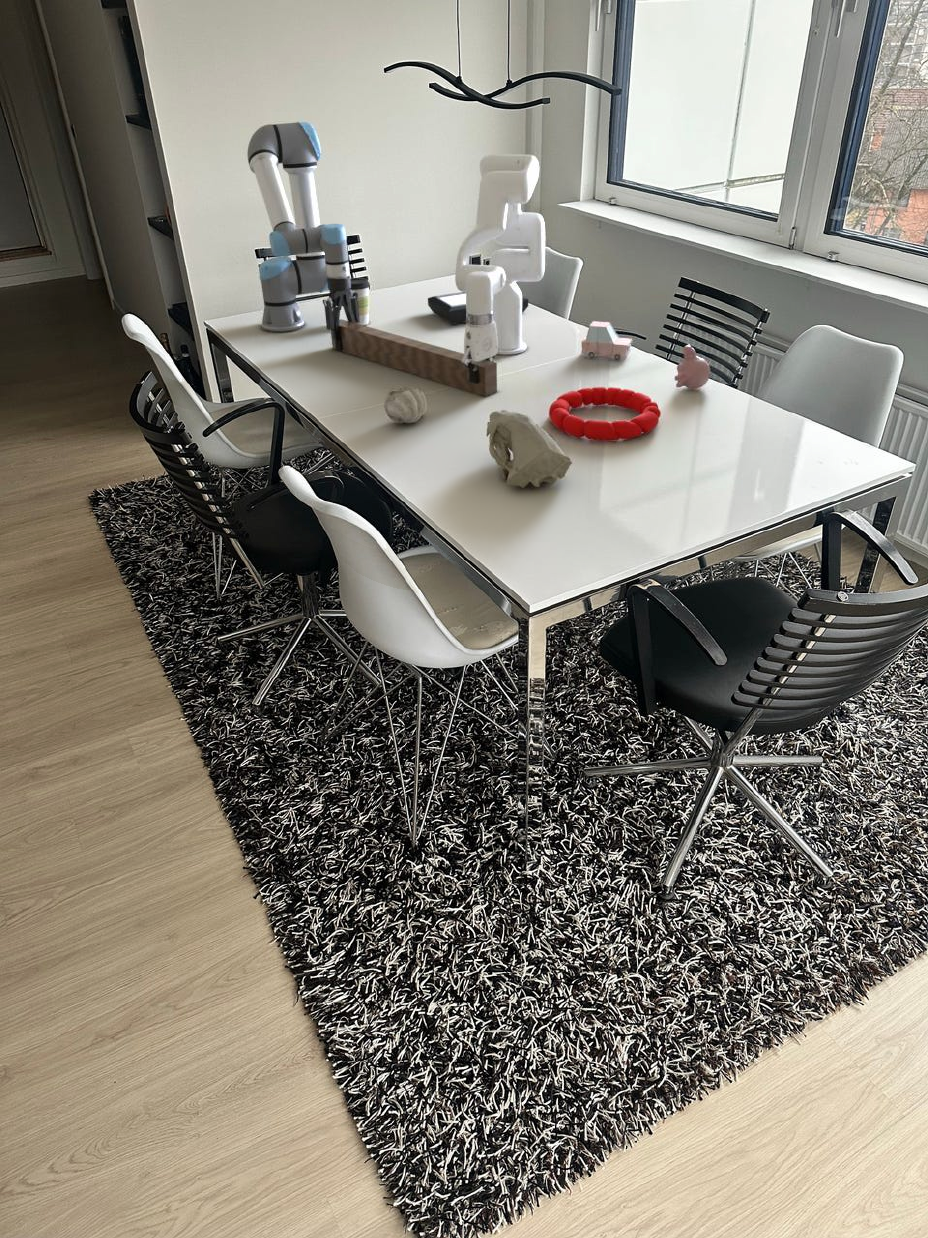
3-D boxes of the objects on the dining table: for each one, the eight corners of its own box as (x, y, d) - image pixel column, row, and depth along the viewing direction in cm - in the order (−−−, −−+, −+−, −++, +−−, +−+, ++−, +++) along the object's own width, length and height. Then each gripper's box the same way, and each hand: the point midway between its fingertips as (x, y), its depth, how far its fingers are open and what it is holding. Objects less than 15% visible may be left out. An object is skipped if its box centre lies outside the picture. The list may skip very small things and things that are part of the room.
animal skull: (496, 517, 219) (521, 479, 201) (463, 429, 225) (484, 384, 207) (557, 503, 225) (586, 465, 206) (523, 417, 231) (549, 373, 212)
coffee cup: (372, 326, 323) (368, 283, 314) (345, 327, 323) (340, 284, 315) (374, 318, 331) (371, 276, 322) (348, 319, 331) (344, 277, 323)
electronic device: (448, 308, 317) (427, 295, 332) (449, 326, 320) (428, 312, 335) (528, 296, 327) (504, 284, 342) (528, 313, 330) (504, 301, 346)
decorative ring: (589, 435, 224) (684, 402, 234) (527, 398, 247) (617, 369, 256) (589, 461, 229) (683, 427, 238) (529, 422, 251) (617, 393, 260)
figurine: (665, 387, 264) (669, 347, 257) (693, 380, 268) (698, 340, 261) (686, 396, 257) (690, 355, 250) (714, 388, 262) (720, 348, 255)
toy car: (626, 362, 283) (628, 330, 277) (579, 358, 288) (580, 327, 282) (632, 353, 290) (634, 322, 285) (586, 349, 295) (588, 318, 289)
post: (332, 348, 303) (329, 322, 298) (344, 344, 306) (341, 318, 301) (485, 396, 262) (485, 367, 257) (497, 391, 265) (496, 362, 260)
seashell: (375, 421, 248) (372, 387, 243) (423, 410, 254) (421, 376, 248) (391, 434, 241) (388, 398, 235) (439, 422, 246) (438, 387, 241)
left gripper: (323, 283, 282) (332, 356, 295) (367, 272, 292) (373, 342, 305) (309, 280, 286) (317, 351, 299) (352, 268, 296) (358, 338, 310)
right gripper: (468, 327, 247) (470, 390, 257) (509, 313, 257) (509, 374, 267) (449, 322, 251) (451, 385, 262) (490, 308, 261) (490, 369, 271)
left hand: (345, 347), depth 302 cm, fingers closed on post, 5 cm apart
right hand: (480, 379), depth 264 cm, fingers closed on post, 5 cm apart
